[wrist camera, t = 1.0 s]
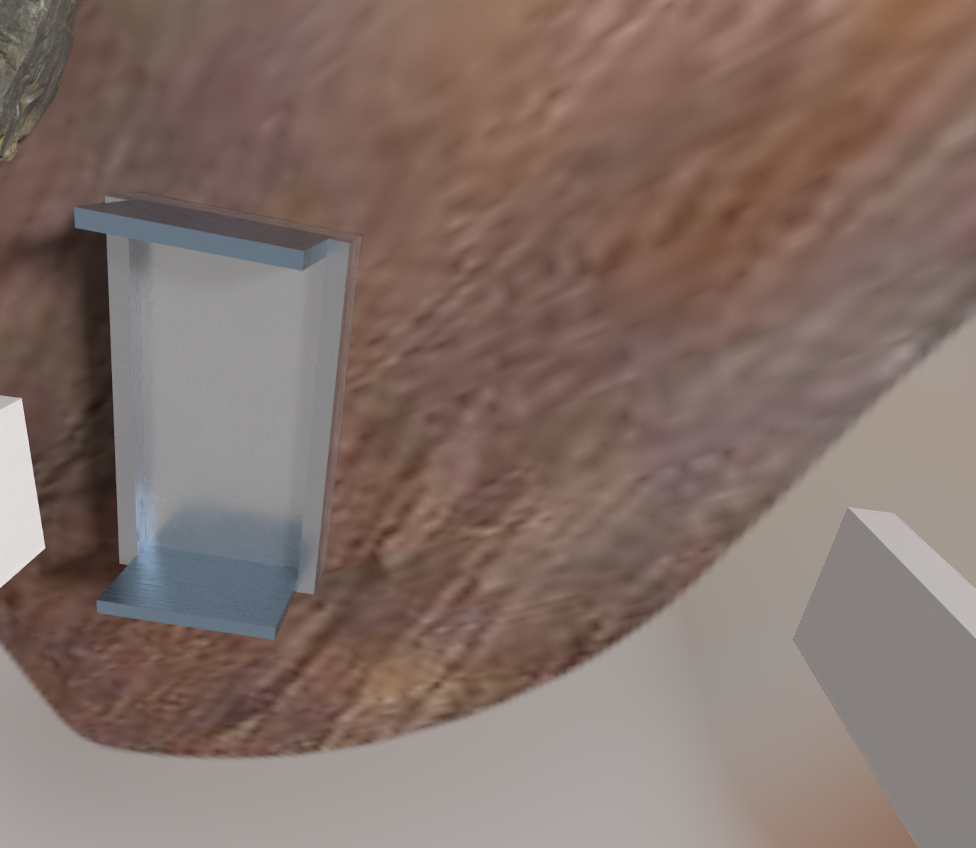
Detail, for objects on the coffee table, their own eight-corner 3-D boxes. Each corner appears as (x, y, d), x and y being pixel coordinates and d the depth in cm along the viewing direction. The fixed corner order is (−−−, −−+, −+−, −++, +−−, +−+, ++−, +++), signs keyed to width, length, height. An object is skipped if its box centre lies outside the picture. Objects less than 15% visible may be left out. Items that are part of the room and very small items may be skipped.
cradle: (139, 192, 32) (47, 201, 25) (362, 235, 32) (328, 255, 26) (145, 534, 39) (77, 609, 33) (326, 563, 40) (293, 642, 33)
